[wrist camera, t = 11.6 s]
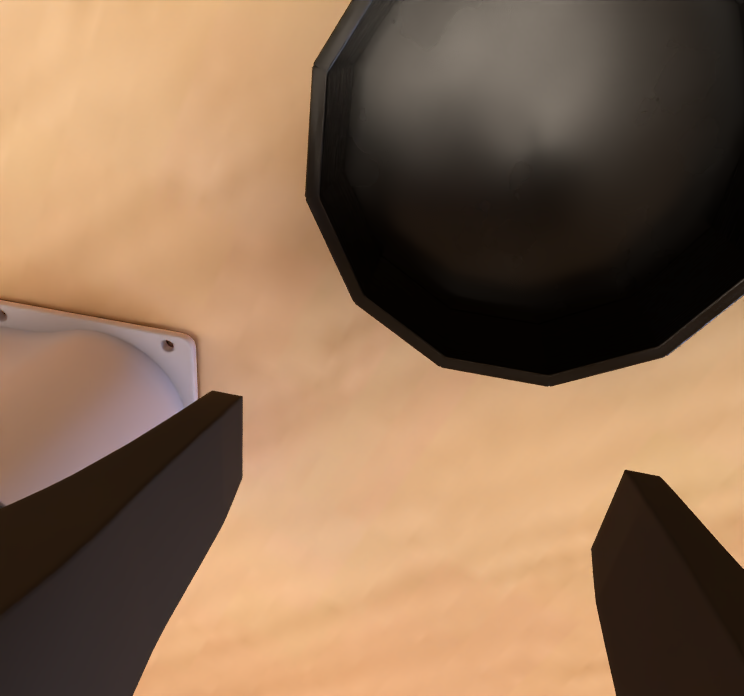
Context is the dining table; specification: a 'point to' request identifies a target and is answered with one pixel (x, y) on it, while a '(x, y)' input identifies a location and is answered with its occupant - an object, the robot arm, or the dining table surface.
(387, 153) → the skillet
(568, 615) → the dining table surface
